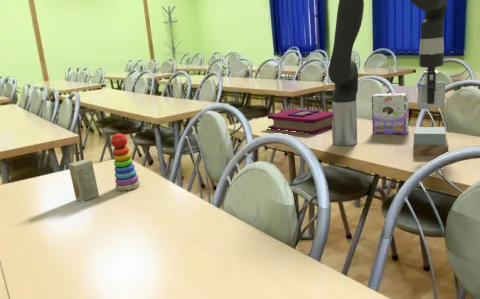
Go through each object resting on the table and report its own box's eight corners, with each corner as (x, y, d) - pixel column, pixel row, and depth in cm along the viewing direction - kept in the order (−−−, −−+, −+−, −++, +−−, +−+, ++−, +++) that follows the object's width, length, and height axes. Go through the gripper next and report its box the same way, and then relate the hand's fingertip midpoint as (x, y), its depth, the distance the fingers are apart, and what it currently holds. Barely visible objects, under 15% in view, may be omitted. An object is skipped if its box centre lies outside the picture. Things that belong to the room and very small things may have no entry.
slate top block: (413, 144, 155) (413, 133, 154) (414, 137, 164) (415, 127, 163) (445, 145, 151) (445, 133, 150) (444, 137, 160) (445, 127, 159)
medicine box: (440, 105, 156) (441, 80, 154) (444, 107, 152) (445, 82, 150) (417, 107, 157) (417, 82, 155) (420, 109, 153) (421, 84, 151)
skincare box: (93, 193, 147) (86, 158, 144) (99, 196, 144) (93, 160, 141) (74, 200, 142) (67, 163, 139) (80, 203, 139) (73, 165, 136)
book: (294, 121, 231) (293, 106, 229) (340, 125, 211) (340, 110, 209) (267, 129, 217) (266, 114, 216) (313, 135, 197) (312, 118, 196)
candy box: (408, 131, 188) (409, 92, 183) (405, 135, 183) (405, 95, 179) (375, 130, 195) (375, 92, 191) (371, 133, 190) (371, 95, 186)
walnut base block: (413, 156, 156) (413, 145, 155) (413, 147, 166) (413, 137, 165) (447, 157, 152) (448, 145, 151) (446, 148, 161) (446, 137, 160)
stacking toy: (129, 182, 155) (120, 129, 150) (145, 185, 151) (136, 131, 146) (111, 189, 149) (101, 135, 144) (127, 193, 145) (117, 137, 140)
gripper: (419, 51, 157) (418, 98, 162) (419, 54, 145) (418, 106, 149) (442, 49, 155) (441, 98, 159) (444, 52, 142) (443, 105, 146)
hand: (430, 101), depth 154 cm, fingers closed on medicine box, 5 cm apart
